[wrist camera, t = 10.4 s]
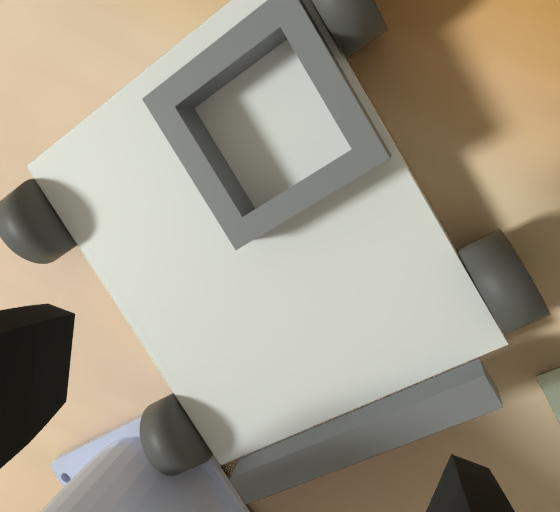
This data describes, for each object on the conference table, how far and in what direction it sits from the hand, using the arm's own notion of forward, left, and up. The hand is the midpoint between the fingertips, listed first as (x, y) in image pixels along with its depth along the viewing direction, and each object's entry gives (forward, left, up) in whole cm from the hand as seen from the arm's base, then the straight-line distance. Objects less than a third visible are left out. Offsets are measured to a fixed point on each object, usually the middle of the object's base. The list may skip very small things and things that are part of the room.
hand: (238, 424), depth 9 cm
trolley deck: (+2, +2, -10) cm, 11 cm away
